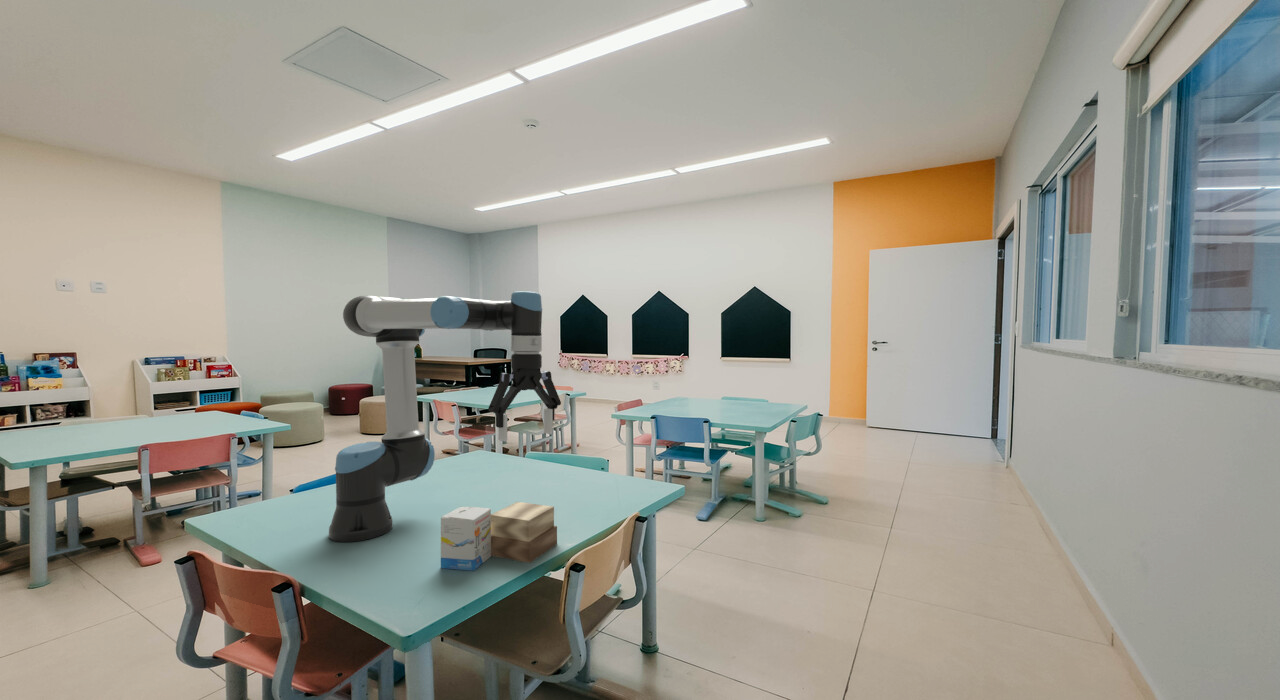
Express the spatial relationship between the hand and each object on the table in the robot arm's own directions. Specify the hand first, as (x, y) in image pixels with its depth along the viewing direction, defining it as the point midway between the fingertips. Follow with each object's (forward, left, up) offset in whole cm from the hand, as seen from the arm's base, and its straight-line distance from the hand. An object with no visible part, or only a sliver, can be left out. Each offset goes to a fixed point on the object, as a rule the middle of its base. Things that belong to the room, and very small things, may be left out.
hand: (526, 437), depth 129 cm
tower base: (+1, -3, -28) cm, 28 cm away
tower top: (+1, -3, -23) cm, 23 cm away
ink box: (-7, -14, -27) cm, 32 cm away
